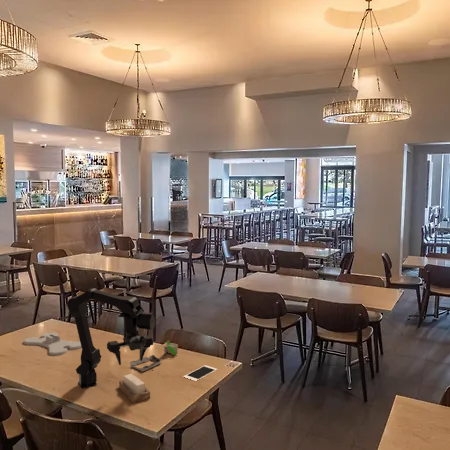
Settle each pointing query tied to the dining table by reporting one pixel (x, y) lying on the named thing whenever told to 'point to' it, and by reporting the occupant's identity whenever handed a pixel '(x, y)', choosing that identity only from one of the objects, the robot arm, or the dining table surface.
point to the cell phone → (200, 373)
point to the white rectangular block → (134, 384)
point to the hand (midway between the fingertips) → (130, 362)
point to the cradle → (131, 395)
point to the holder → (53, 343)
